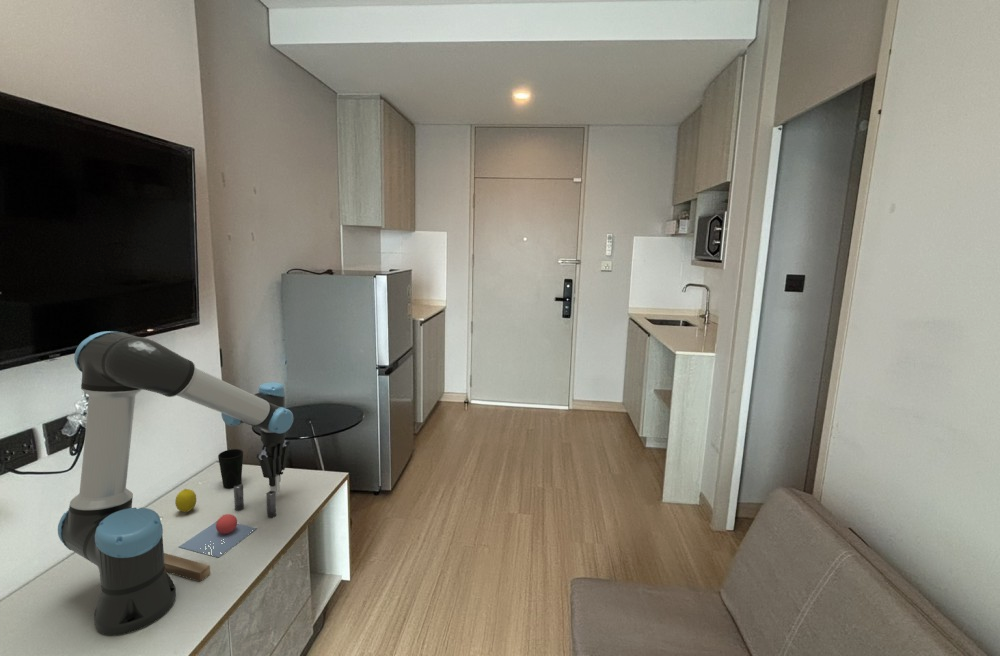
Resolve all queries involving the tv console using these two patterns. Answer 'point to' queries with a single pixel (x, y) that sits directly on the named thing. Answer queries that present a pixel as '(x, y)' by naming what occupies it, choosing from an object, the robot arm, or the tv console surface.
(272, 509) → the post right
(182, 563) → the wall
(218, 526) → the ball
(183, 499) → the lemon
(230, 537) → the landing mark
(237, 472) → the cup
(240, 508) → the post left
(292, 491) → the tv console surface
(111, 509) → the robot arm
